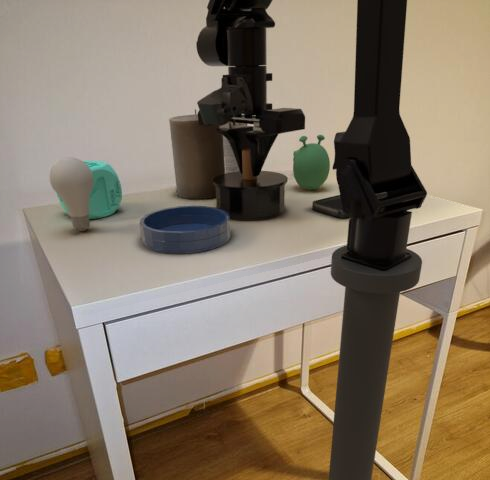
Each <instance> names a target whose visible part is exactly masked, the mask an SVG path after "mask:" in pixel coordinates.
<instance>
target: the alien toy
mask: <svg viewBox="0 0 490 480" xmlns="http://www.w3.org/2000/svg"><path fill="white" fill-rule="evenodd" d="M325 138H326V137H325V136H324V135H323V134H318V135H317V136H316V139H317V140H318V141H317V143H313V142H311V143H306V141H307V140H308V136H306V135H302V136H300V138H299V139H298V141H299V142H300V143H302V145H301V147H299V148H298V149H296V150H293V154H292V155H293V158H292V162H293V163H292V174H293V177H294V179H295V180H294V181H295V182H296V183H297V185H298V186H300V188H302V189H305V190H307V191H314V190H317V189H320V187H322V186H323V185H324V184H325V183H326V181H327V179H328V177H329V174H330V169H331V163H330V162H331V161H330V157H329V154H328V151H327V150H326V148H325V147H324V146H322V144H321V142H322V141H324V140H325Z"/></svg>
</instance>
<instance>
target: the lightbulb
mask: <svg viewBox="0 0 490 480" xmlns="http://www.w3.org/2000/svg"><path fill="white" fill-rule="evenodd" d="M83 161H84V160H82V159H79V158H77V157H74V156H73V157H72V156H66V157H65V156H64V157H61V158H59V159H58V160H56V161H55V162H54V163H53V164H52V166H51V167H50V170H49V183H50V185H51V187H52V189H53V191H55V193H56V195H57V194H58V195H59V197H60V198H61V199H62V201H63V202H64V204H65V206H66V208H67V211H68V214H69V215H68V214H67V215H68V216H69V217H70V220H71V224H72V227H73V228H74V229H75V230H78V231H79V232H86V231H87V229H88V228H90V226H91V222H90V219H89V215H88V214H89V197H90V194H91V191H92V187H93V180H94V179H93V174H92V172H91V170H90V168H89V167H88V166H87V164H85V163H84V162H83Z"/></svg>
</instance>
